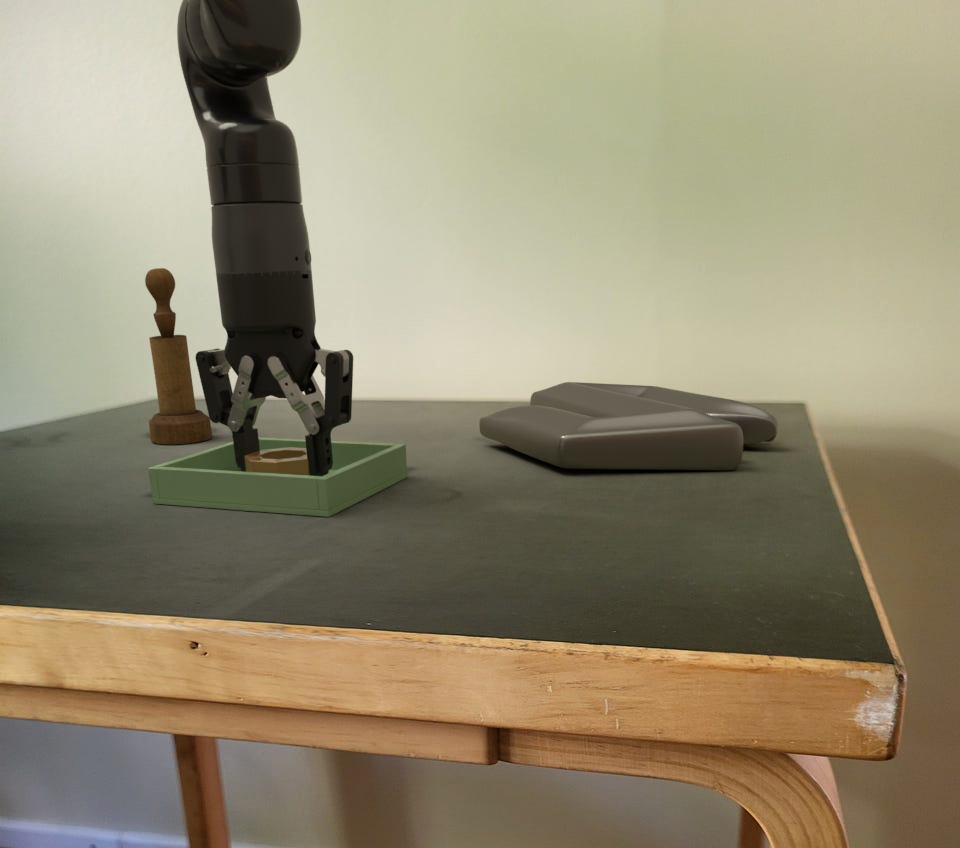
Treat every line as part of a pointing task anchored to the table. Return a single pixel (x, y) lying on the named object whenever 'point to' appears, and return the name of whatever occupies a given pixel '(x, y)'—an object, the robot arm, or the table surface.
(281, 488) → the tray
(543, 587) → the table surface
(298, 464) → the ring
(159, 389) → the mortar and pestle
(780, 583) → the table surface
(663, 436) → the emblem
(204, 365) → the robot arm
